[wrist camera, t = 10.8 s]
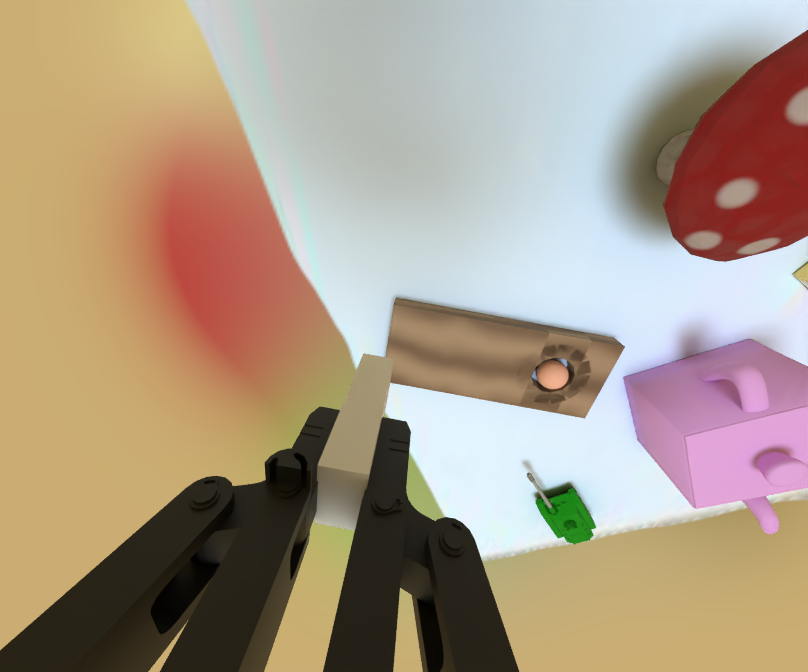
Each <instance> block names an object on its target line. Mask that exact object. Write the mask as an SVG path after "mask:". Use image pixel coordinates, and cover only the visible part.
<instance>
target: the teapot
mask: <svg viewBox="0 0 808 672" xmlns="http://www.w3.org/2000/svg"><path fill="white" fill-rule="evenodd" d="M623 379H624V383H625V387H626V392H627V396H628V400H629V405H630V409H631V413H632V417H633V422H634V426H635V430H636V435H637V439H638V441H639V442H640V443H641V445H642V446H643V447H644V448H645V449H646V451H647V452H648V453H649V454H650V455H651V457H652V458H653V459H654V460H655V462H656V463H657V464H658V465H659V466H660V468H661V469H662V470H663V471H664V472H665V474H666V475H667V476H668V477H669V479H670V480H671V481H672V482H673V483H674V485H675V486H676V487H677V488H678V489H679V491H680V492H681V493H682V494H683V496H684V497H685V498H686V499H687V500H688V502H689V503H690V504H691V505H692V506H693V508H696V509H697V508H703V507H709V506H714V505H719V504H725V503H730V502H735V501H741V500H742V501H743V502H744V503H745V505H746V506H747V507H748V508H749V509H750V510H751V511H752V513H753V514H754V515H755V517H756V518H757V520H758V522H759V524H760V525H761V528H762V529H763V531H764V532H765V533H767V534H774V533H775V532H776V531H777V530H778V528H779V520H778V518H777V516H776V514H775V512H774V510H773V508H772V506H771V505H770V503H769V501H768V499H767V498H766V496H767V495H773V494H778V493H783V492H788V491H793V490H798V489H804V488H808V366H806V365H803V364H801V363H799V362H797V361H795V360H793V359H791V358H789V357H786V356H784V355H782V354H780V353H778V352H776V351H774V350H772V349H769V348H767V347H765V346H763V345H761V344H759V343H757V342H755V341H752V340H750V339H746V340H743V341H740V342H737V343H733V344H730V345H727V346H723V347H720V348H717V349H714V350H710V351H707V352H704V353H701V354H697V355H694V356H691V357H687V358H684V359H681V360H678V361H674V362H671V363H668V364H665V365H661V366H658V367H655V368H652V369H648V370H645V371H642V372H638V373H635V374H632V375H629V376H625V377H623Z"/></svg>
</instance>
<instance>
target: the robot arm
mask: <svg viewBox="0 0 808 672" xmlns="http://www.w3.org/2000/svg"><path fill="white" fill-rule="evenodd" d="M393 363H394V359H391V358H385V357H380V356H374V355H369V354H363V356H362V358H361V361H360V363H359V366H358V368H357V371H356V373H355V376H354V378H353V380H352V383H351V385H350V388H349V390H348V392H347V395H346V397H345V400H344V402H343V405H342V407H341V410H335V409H331V408H325V407H319V408H317V409H316V410H315V411H314V412H312V413H311V414H310V415H309V417H308V419H307V421H306V423H305V425H304V427H303V428H302V430H301V432H300V435H299V436H298V438H297V440H296V442H295V443H294V445H293V447H292V449H285V450H281V451H278V452H276V453H275V454H273V455H272V456H270V457H269V458H268V460H267V461H266V462H265V475H266V480H265V481H262V482H260V483H255V484H248V485H240V486H232V483H231V482H230V481H229V480H228V479H226V478H225V477H220V476H211V477H205V478H203V479H200V480H198V481H196V482H194V483H193V484H191V485H190V486H188V487H187V488H186V489H185V490H183V491H182V492H181V493H180V494H179V495H178V496H176V497H175V498H174V499H173V500H172V501H171V502H170V503H168V504H167V505H166V506H165V507H164V508H163V509H162V510H160V511H159V512H158V513H157V514H156V515H155V516H153V517H152V518H151V519H150V520H149V521H148V522H147V523H145V524H144V525H143V526H142V527H141V528H140V529H139V530H137V531H136V532H135V533H134V534H133V535H132V536H131V537H130V538H128V539H127V540H126V541H125V542H124V543H123V544H121V545H120V546H119V547H118V548H117V549H116V550H115V551H113V552H112V553H111V554H110V555H109V556H108V557H107V558H105V559H104V560H103V561H102V562H101V563H100V564H99V565H97V566H96V567H95V568H94V569H93V570H92V571H91V572H89V573H88V574H87V575H86V576H85V577H84V578H83V579H81V580H80V581H79V582H78V583H77V584H76V585H75V586H74V587H72V588H71V589H70V590H69V591H68V592H67V593H65V594H64V595H63V596H62V597H61V598H60V599H59V600H58V601H56V602H55V603H54V604H53V605H52V606H51V607H49V608H48V609H47V610H46V611H45V612H44V613H43V614H41V615H40V616H39V617H38V618H37V619H36V620H34V622H32V623H31V624H30V625H29V626H28V627H26V628H25V629H24V630H23V631H22V632H21V633H20V634H18V635H17V636H16V637H15V638H14V639H13V640H12V641H10V642H9V643H8V644H7V645H6V646H5V647H4V648H3V649H1V650H0V672H148V671H149V670H150V669H151V667H152V666H153V665H154V664H155V662H156V661H157V660H158V658H159V657H160V656H161V655H162V653H163V652H164V651H165V649H166V648H167V647H168V646H169V644H170V643H171V641H172V640H173V639H174V638H175V636H176V635H177V634H178V633H179V631H180V630H181V629H182V628H183V626H184V625H185V624H186V622H187V621H188V622H187V624H186V626H185V628H184V629H183V631H182V633H181V635H180V637H179V638H178V640H177V642H176V644H175V645H174V647H173V649H172V651H171V653H170V654H169V656H168V658H167V660H166V662H165V663H164V665H163V667H162V669H161V671H160V672H264V670H265V667H266V664H267V661H268V658H269V655H270V652H271V650H272V647H273V644H274V641H275V638H276V635H277V632H278V629H279V626H280V624H281V621H282V617H283V615H284V612H285V609H286V606H287V603H288V600H289V597H290V594H291V592H292V589H293V586H294V583H295V580H296V577H297V574H298V571H299V568H300V565H301V562H302V560H303V557H304V554H305V551H306V548H307V545H308V542H309V536H310V528H311V525H312V522H313V520H314V517H315V523H317V524H322V525H328V526H334V527H339V528H344V529H349V530H355V533H354V537H353V542H352V546H351V551H350V555H349V559H348V564H347V568H346V572H345V577H344V581H343V586H342V590H341V595H340V599H339V603H338V608H337V612H336V617H335V621H334V626H333V630H332V634H331V639H330V643H329V648H328V652H327V657H326V661H325V666H324V670H323V672H393V667H394V653H395V642H396V630H397V617H398V605H399V592H400V588H402V589H403V590H405V591H407V592H408V593H410V594H411V595H412V599H413V606H414V613H415V620H416V627H417V633H418V640H419V648H420V655H421V661H422V668H423V672H519V669H518V666H517V664H516V661H515V658H514V655H513V652H512V649H511V646H510V643H509V640H508V637H507V634H506V631H505V628H504V625H503V622H502V619H501V616H500V613H499V610H498V608H497V604H496V601H495V599H494V595H493V593H492V590H491V587H490V584H489V581H488V578H487V575H486V572H485V569H484V566H483V563H482V560H481V557H480V554H479V551H478V548H477V545H476V542H475V539H474V537H473V536H472V534H471V532H470V530H469V529H468V528H467V527H466V526H465V525H464V524H463V523H462V522H460V521H458V520H456V519H454V518H448V517H445V518H441V519H438V520H436V521H434V520H432V519H430V518H428V517H426V516H425V515H423V514H421V513H420V512H418V511H417V510H416V509H415V508H414V507H413V506H412V505H411V503H410V501H409V500H408V497H407V493H406V483H407V470H408V459H409V447H410V435H411V431H410V429H409V426H408V424H407V422H406V421H400V420H395V419H390V418H384V413H385V408H386V403H387V397H388V392H389V386H390V380H391V374H392V368H393Z"/></svg>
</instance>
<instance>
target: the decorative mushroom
mask: <svg viewBox="0 0 808 672" xmlns="http://www.w3.org/2000/svg"><path fill="white" fill-rule="evenodd" d="M656 171H657V174H658V178H659V179H660V180H661V181H662V182H663V183H664V184H667V185H669V186H668V190H667V193H666V197H665V200H664V204H663V206H664V209H665V212H666V216H667V219H668V222H669V226H670V229H671V233H672V235H673V237H674V238H675V239H676V240H677V241H678V242H679V243H680V244H681V245H682V246H683V247H684V248H685V249H686V250H687V251H688V252H689V253H690V254H691V255H695V256H699V257H703V258H707V259H711V260H715V261H725V262H726V261H731V260H736V259H740V258H744V257H748V256H752V255H756V254H760V253H764V252H768V251H772V250H776V249H779V248H783V247H786V246H789V245H791V244H793V243H795V242H797V241H799V240H801V239H803V238H805V237H806V236H808V30H807V31H805V32H804V33H802V34H801V35H799V36H798V37H796V38H795V39H793V40H792V41H790V42H789V43H787V44H786V45H784V46H783V47H781V48H780V49H778V50H777V51H775V52H773V53H772V54H770V55H769V56H767V57H766V58H764V59H763V60H761V61H760V62H758V63H757V64H755V65H754V66H753V67H752V68H751V69H749V70H748V71H747V72H746V73H745V74H744V75H743V76H742V77H741V78H740V79H739V80H738V81H737V82H736V83H735V84H734V85H733V86H732V87H731V88H730V89H729V90H728V91H727V92H726V93H725V94H724V95H723V96H722V97H720V98H719V99H718V100H717V101H716V102H715V103H714V104H713V105H712V106H711V107H710V108H709V109H708V110H707V111H706V112H705V113H704V114H703V115H702V116H701V118H700V120H699V122H698V123H697V125H696V127H695V129H693V130H688V131H684V132H681V133H680V134H678V135H677V136H675V137H673V138H672V139H671V140H670V141H669V142H668V143H667V144H666V145H665V146H664V147H663V149H662V151H661V153H660V155H659V157H658V159H657V166H656Z"/></svg>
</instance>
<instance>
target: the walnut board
mask: <svg viewBox="0 0 808 672" xmlns="http://www.w3.org/2000/svg"><path fill="white" fill-rule="evenodd" d="M624 348H625V347H624V346H623V345H622V344H621V343H620V342H618V341H617V340H616V339H615V338H611V337H605V336H600V335H594V334H589V333H583V332H578V331H572V330H567V329H562V328H556V327H551V326H545V325H540V324H534V323H529V322H523V321H518V320H512V319H507V318H502V317H496V316H491V315H485V314H480V313H474V312H469V311H463V310H458V309H452V308H447V307H442V306H436V305H431V304H425V303H420V302H414V301H409V300H403V299H398V298H396V300H395V303H394V308H393V314H392V321H391V327H390V333H389V339H388V346H387V352H386V358H391V359H394V363H393V368H392V374H391V380H390V383H396V384H401V385H406V386H412V387H417V388H423V389H428V390H434V391H439V392H445V393H450V394H455V395H461V396H466V397H472V398H477V399H483V400H488V401H494V402H499V403H504V404H510V405H515V406H521V407H526V408H532V409H537V410H543V411H548V412H553V413H559V414H564V415H570V416H575V417H581V418H585V417H586V415H587V413H588V412H589V410H590V408H591V406H592V405H593V403H594V401H595V399H596V397H597V396H598V394H599V392H600V390H601V388H602V387H603V385H604V383H605V381H606V380H607V378H608V376H609V374H610V372H611V371H612V369H613V367H614V365H615V364H616V362H617V360H618V358H619V356H620V355H621V353H622V351H623V349H624ZM552 358H561V359H566V360H567V364H568V366H567V370H568V374H569V377H568V381H567V382H566V384H565V385H564V386H562V387H561V388H558V389H549V388H546V387H544V386H543V385H541V384H540V383H539V381H535V380H534V379H533V378H532V377H531V376H532V374H533V372H534V369H535V367H536V366H538V365H539V364H540V363H541V362H543V361H544V360H548V359H552Z"/></svg>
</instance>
